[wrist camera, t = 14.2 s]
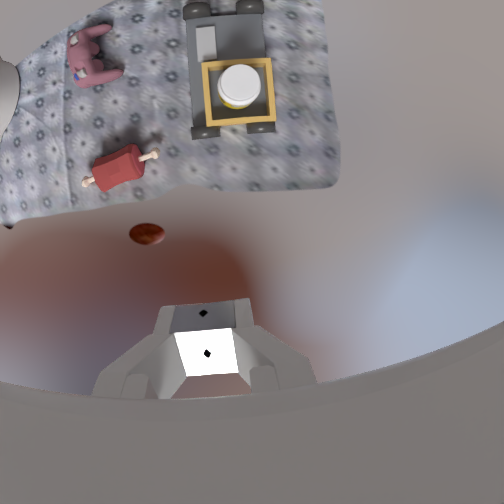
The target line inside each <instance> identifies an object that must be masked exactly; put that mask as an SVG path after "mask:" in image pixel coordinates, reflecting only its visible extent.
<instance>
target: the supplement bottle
mask: <svg viewBox="0 0 504 504" xmlns="http://www.w3.org/2000/svg"><path fill="white" fill-rule="evenodd" d="M217 88H218V95H219V98H220V100H221V102H222V103H223V104H224V105H225V106H226V107H228V108H231V109H236V110H238V109H243V108H246V107H247V106H249V105H250V104H251V103H252V102H253V101H254V100H255V99H256V98H257V97H258V95H259V93H260V89H261V82H260V78H259V75H258V73H257V72H256V71H255V70H254V69H253V68H252V67H250V66H248V65H244V64H237V65H233V66H231V67H229V68H228V69H226V70H225V71H224V72H223V73H222V74H221V75H220V77H219V80H218V84H217Z"/></svg>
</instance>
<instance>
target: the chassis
mask: <svg viewBox="0 0 504 504" xmlns="http://www.w3.org/2000/svg"><path fill="white" fill-rule="evenodd" d="M236 11H237V15H225V16H214V17H210V16H211V14H210V5H209V4H207V3H204V2H195V3H190V4H187V5H185V6H184V7H183V19H184V20H185V21H186V33H187V50H188V65H189V79H190V92H191V103H192V114H193V125H194V127H192V128H191V134H192V140H196V139H203V138H212V137H220V126H228V125H239V124H247V134H253V133H268V132H276V130H275V121H276V110H275V98H274V87H273V76H272V65H271V58H266V54H265V44H264V34H263V25H262V16H261V15H262V14H263V13H264V5H263V1H262V0H240V1H238V2H237V3H236ZM237 64H244V65H248V66H250V67H252V68H253V69H254V70H255V71H256V72H257V73H258V75H259V78H260V82H261V89H260V93H259V95H258V97H257V98H256V99H255V100H254V101H253V102H252V103H251V104H250V105H249V106H247V107H246V108H243V109H238V110H236V109H231V108H228V107H226V106H225V105H224V104H223V103H222V102H221V100H220V98H219V95H218V88H217V84H218V80H219V77H220V75H221V74H222V73H223V72H224V71H225V70H226V69H228V68H229V67H231V66H233V65H237Z"/></svg>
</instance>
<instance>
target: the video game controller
mask: <svg viewBox="0 0 504 504" xmlns="http://www.w3.org/2000/svg"><path fill="white" fill-rule="evenodd" d="M111 28H112V26H111V25H109V24H101V25H97V26H93V27H89V28H85V29H82V30H79V31H77V32H76V33H74V34H73V35H72V36H71V37H70V38H69V39H68V41H67V58H68V63H69V66H70V69H71V71H72V73H73V75H74V81H75V83H76V84H77V85H78V86H79V87H81V88H88V87H90V86H95V85H99V84H103V83H107V82H110V81H113V80H115V79H117V78H119V77H121V76H122V74H123V70H120V69H112V70H107V71H102V70H103V69H104V65H103V63H102V62H101V61H100V60H98V59H95V60H93V61H92V57H94V56H95V55H96V54H98V53H99V46H98V45H97V44H96V43H94V42H92V41H91V39H93V38H95V37H97V36H100V35H103V34H105V33H107V32H108V31H110V30H111Z"/></svg>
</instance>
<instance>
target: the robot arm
mask: <svg viewBox="0 0 504 504" xmlns="http://www.w3.org/2000/svg"><path fill="white" fill-rule="evenodd" d="M18 96H19V75H18V72H17V70H16V68H15V66H14V65H12V64H11V63H9V62H6V61H3V60H2V59H1V57H0V143H1V139H2V135H3V133H4V131H5V129H6V128H7V126H8V124H9V123H10V121H11V119H12V116H13V114H14V111H15V108H16V105H17V101H18ZM229 372H238V374H239V375H240V376H241V377H242V378H243V379H244V380H245V381H246V382H247V383H248V384H249V385H250V386H251V392H252V394H243V395H233V396H221V397H207V398H188V399H170V398H171V397H172V396H173V394H174V393H175V392H176V391H177V389H178V388H179V387H180V386H181V384H182V383H183V382H184V380H185V379H186V378H187V376H189V375H202V374H213V373H229ZM0 504H504V321H503V322H501V323H499V324H497V325H495V326H493V327H491V328H489V329H487V330H484V331H482V332H480V333H478V334H476V335H473V336H471V337H469V338H466V339H464V340H461V341H459V342H456V343H454V344H451V345H449V346H447V347H444V348H441V349H438V350H436V351H433V352H430V353H427V354H425V355H421V356H419V357H416V358H413V359H410V360H407V361H403V362H400V363H397V364H393V365H390V366H387V367H383V368H380V369H376V370H373V371H369V372H365V373H361V374H357V375H353V376H349V377H345V378H340V379H336V380H331V381H327V382H322V383H317V381H316V378H315V375H314V373H313V370H312V367H311V364H310V362H309V359H308V358H307V357H306V356H304V355H302V354H301V353H299V352H298V351H296V350H295V349H293V348H292V347H290V346H289V345H287V344H286V343H284V342H282V341H281V340H279V339H278V338H276V337H275V336H273V335H272V334H270V333H269V332H267V331H266V330H264V329H263V328H261V327H260V326H254V323H253V317H252V311H251V305H250V299H249V298H244V299H238V300H230V301H223V302H215V303H207V304H205V303H203V304H189V305H177V306H176V305H173V306H163V307H162V308H161V309H160V312H159V315H158V318H157V322H156V325H155V329H154V332H153V335H148V336H147V337H145V338H144V339H143V340H141V341H140V342H139V343H138V344H136V345H135V346H134V347H132V348H131V349H130V350H128V351H127V352H126V353H125V354H123V355H122V356H121V357H119V358H118V359H117V360H115V361H114V362H113V363H111V364H110V365H109V366H108V367H106V368H105V369H104V370H102V371H101V372H100V374H99V377H98V379H97V382H96V384H95V387H94V390H93V392H92V395H91V396H85V395H76V394H68V393H60V392H53V391H47V390H40V389H35V388H29V387H24V386H19V385H14V384H10V383H5V382H1V381H0Z"/></svg>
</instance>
